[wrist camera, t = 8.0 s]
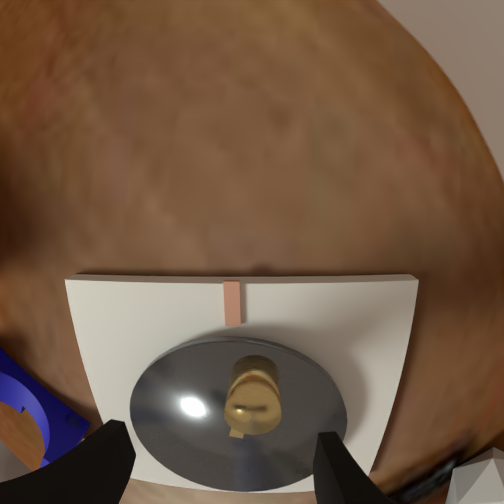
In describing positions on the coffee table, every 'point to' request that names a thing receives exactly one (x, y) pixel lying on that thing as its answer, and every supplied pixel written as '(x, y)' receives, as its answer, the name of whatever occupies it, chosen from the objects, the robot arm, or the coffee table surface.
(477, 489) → the die
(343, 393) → the wheel base
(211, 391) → the handwheel
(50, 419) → the cable clip
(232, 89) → the coffee table surface
